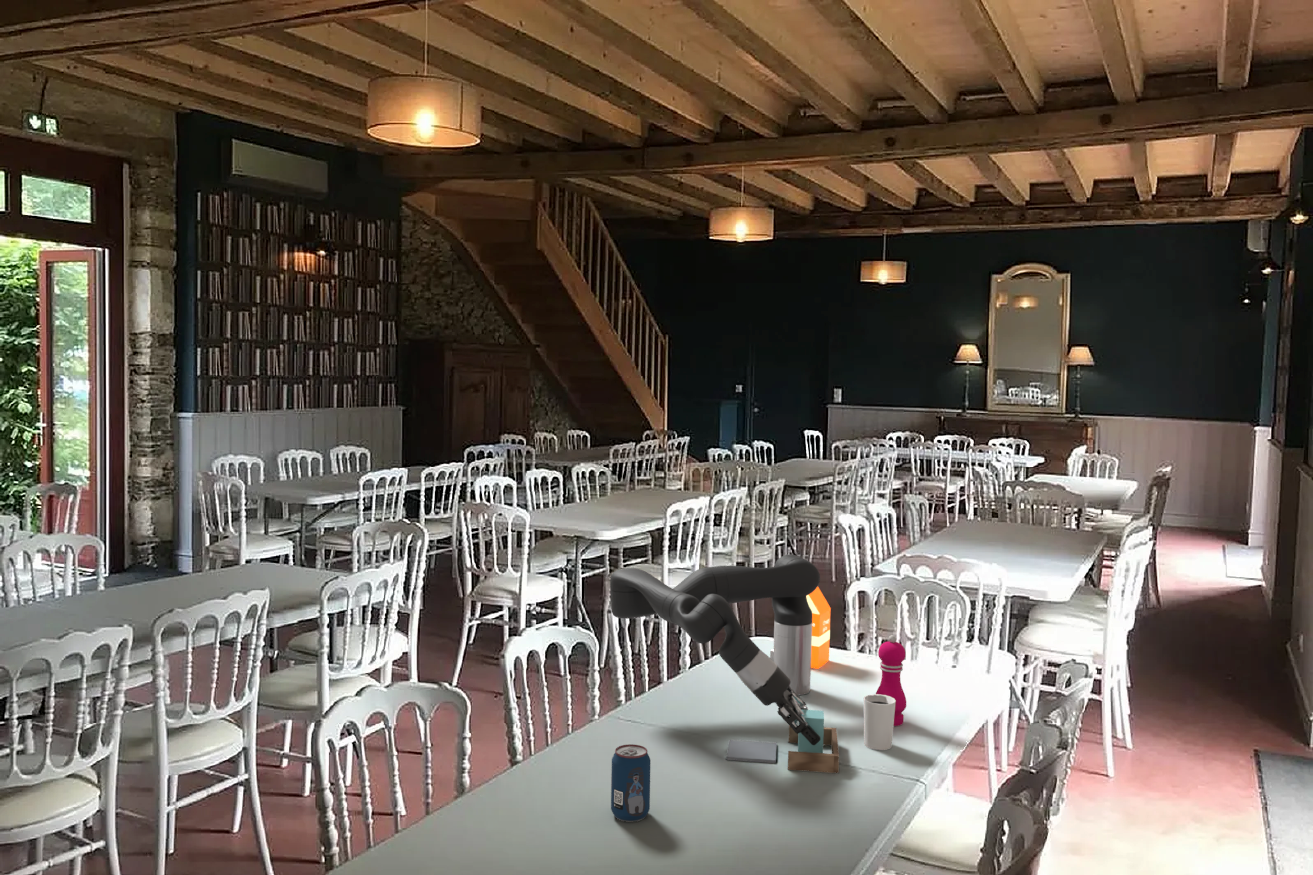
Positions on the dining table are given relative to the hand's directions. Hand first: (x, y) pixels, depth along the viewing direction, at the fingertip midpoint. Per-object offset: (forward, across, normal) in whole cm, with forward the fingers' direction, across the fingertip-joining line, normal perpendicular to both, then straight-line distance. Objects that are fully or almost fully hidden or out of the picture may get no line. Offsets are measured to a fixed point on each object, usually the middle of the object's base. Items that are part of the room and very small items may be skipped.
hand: (817, 734), depth 220 cm
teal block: (+2, 0, -4) cm, 5 cm away
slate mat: (-6, 0, -13) cm, 14 cm away
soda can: (-20, +34, -27) cm, 48 cm away
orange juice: (+3, -68, -4) cm, 68 cm away
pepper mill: (+15, -24, +8) cm, 30 cm away
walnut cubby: (+2, 0, -4) cm, 5 cm away
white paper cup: (+13, -9, +6) cm, 17 cm away
